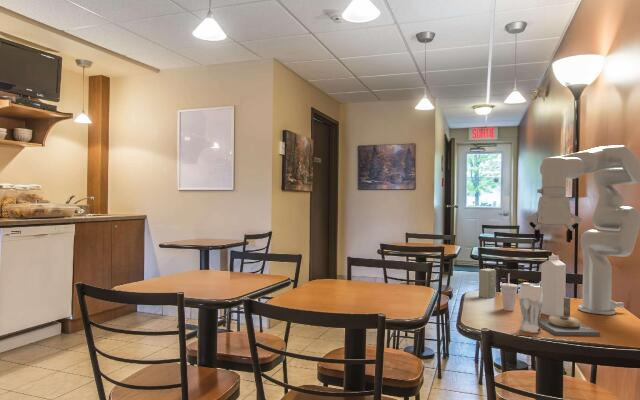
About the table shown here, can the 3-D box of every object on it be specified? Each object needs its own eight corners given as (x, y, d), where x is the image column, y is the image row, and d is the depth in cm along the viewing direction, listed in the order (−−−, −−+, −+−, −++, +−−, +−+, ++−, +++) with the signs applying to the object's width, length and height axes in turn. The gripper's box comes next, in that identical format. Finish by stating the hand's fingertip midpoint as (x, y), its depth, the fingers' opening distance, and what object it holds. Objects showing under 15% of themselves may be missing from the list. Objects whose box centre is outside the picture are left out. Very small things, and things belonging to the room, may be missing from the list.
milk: (565, 315, 167) (566, 256, 167) (555, 317, 164) (556, 257, 164) (549, 311, 173) (551, 254, 172) (540, 313, 170) (541, 255, 169)
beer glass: (514, 327, 150) (515, 282, 150) (534, 327, 150) (535, 282, 150) (526, 333, 143) (526, 286, 143) (546, 333, 143) (547, 286, 143)
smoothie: (514, 308, 177) (515, 272, 177) (520, 312, 171) (520, 275, 171) (497, 307, 178) (498, 272, 178) (502, 311, 172) (503, 274, 172)
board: (571, 322, 157) (571, 317, 157) (600, 336, 141) (600, 330, 141) (531, 321, 157) (531, 316, 157) (555, 335, 141) (555, 330, 141)
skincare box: (487, 295, 201) (487, 268, 201) (496, 297, 197) (496, 269, 197) (478, 296, 198) (478, 269, 198) (486, 298, 194) (487, 270, 194)
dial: (568, 318, 156) (568, 297, 156) (586, 327, 145) (586, 304, 145) (541, 318, 156) (541, 297, 156) (557, 327, 145) (558, 304, 145)
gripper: (528, 192, 155) (527, 241, 156) (584, 192, 150) (583, 243, 150) (525, 192, 163) (524, 239, 163) (578, 193, 158) (578, 241, 158)
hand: (553, 241), depth 157 cm, fingers open, 9 cm apart
